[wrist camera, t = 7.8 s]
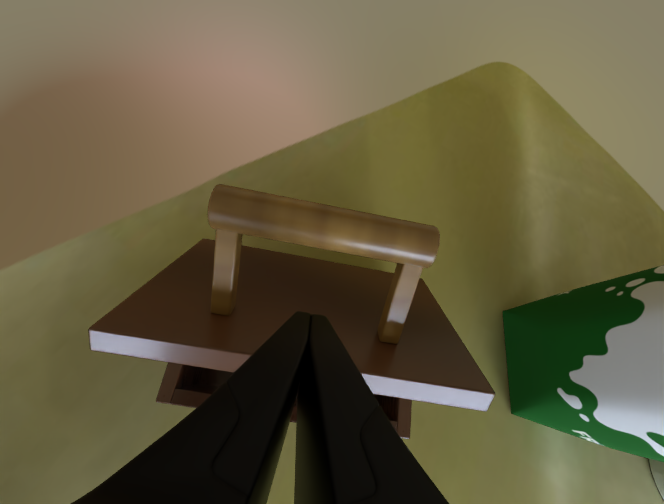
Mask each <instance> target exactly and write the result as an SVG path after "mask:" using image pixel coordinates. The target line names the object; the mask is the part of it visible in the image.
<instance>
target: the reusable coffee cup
mask: <svg viewBox="0 0 664 504" xmlns="http://www.w3.org/2000/svg"><path fill="white" fill-rule="evenodd" d="M649 462H650V467H651V471H652V474H653V477H654V480H655V483H656V486H657V488H658V490H659V492H660V494H661V496H662V498H663V500H664V462H660V461H657V460H653V459H649Z"/></svg>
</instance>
